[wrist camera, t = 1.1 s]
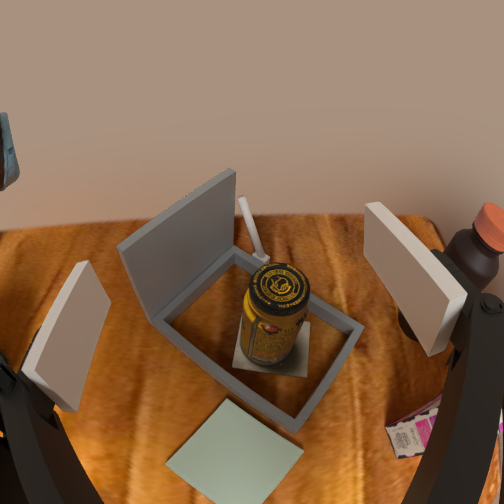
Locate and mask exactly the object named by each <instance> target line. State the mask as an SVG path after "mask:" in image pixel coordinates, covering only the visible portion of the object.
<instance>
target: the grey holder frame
mask: <svg viewBox="0 0 504 504" xmlns="http://www.w3.org/2000/svg"><path fill="white" fill-rule="evenodd" d="M235 184H236V171H234V170H232V169H230V168H228V169H227V170H225V171H223V172H222V173H220V174H219V175H217V176H216V177H214V178H212V179H211V180H209V181H208V182H206V183H205V184H203V185H202V186H200V187H199V188H197V189H195V190H194V191H193V192H191V193H189V194H188V195H186V196H185V197H184V198H182V199H181V200H179V201H178V202H176V203H175V204H173V205H172V206H170V207H169V208H168V209H166V210H165V211H163V212H162V213H161V214H159V215H158V216H156V217H155V218H153V219H152V220H151V221H149V222H148V223H146V224H145V225H144V226H142V227H141V228H140V229H138V230H137V231H135V232H134V233H133V234H131V235H130V236H129V237H127V238H126V239H125V240H123V241H122V242H121V243H119V244H118V245H117V246H116V248H117V250H118V253H119V256H120V258H121V261H122V263H123V266H124V268H125V270H126V273H127V275H128V278H129V280H130V282H131V285H132V287H133V289H134V292H135V294H136V296H137V298H138V301H139V303H140V305H141V307H142V309H143V312H144V314H145V316H146V318H147V320H148V322H149V324H150V325H152V326H153V327H154V328H155V329H156V330H157V331H158V332H159V333H160V334H161V335H163V336H164V337H165V338H166V339H167V340H168V341H169V342H171V343H172V344H173V345H174V346H175V347H176V348H177V349H179V350H180V351H181V352H182V353H183V354H184V355H186V356H187V357H188V358H189V359H190V360H192V361H193V362H194V363H195V364H196V365H198V366H199V367H200V368H201V369H203V370H204V371H205V372H206V373H208V374H209V375H210V376H211V377H213V378H214V379H215V380H217V381H218V382H219V383H220V384H222V385H223V386H224V387H226V388H227V389H228V390H230V391H231V392H232V393H234V394H235V395H236V396H238V397H239V398H240V399H242V400H243V401H245V402H246V403H247V404H249V405H250V406H252V407H253V408H254V409H256V410H257V411H259V412H260V413H262V414H263V415H264V416H266V417H267V418H269V419H270V420H272V421H273V422H275V423H276V424H278V425H279V426H281V427H282V428H284V429H285V430H287V431H289V432H290V433H292V434H295V433H297V432H298V431H299V430H300V428H301V427H302V426H303V424H304V423H305V421H306V420H307V419H308V417H309V416H310V414H311V413H312V411H313V410H314V409H315V407H316V406H317V404H318V403H319V401H320V400H321V398H322V397H323V395H324V394H325V392H326V391H327V389H328V388H329V386H330V384H331V383H332V381H333V380H334V378H335V377H336V375H337V373H338V372H339V370H340V369H341V367H342V365H343V364H344V362H345V360H346V359H347V357H348V355H349V354H350V352H351V350H352V348H353V347H354V345H355V343H356V341H357V340H358V338H359V336H360V334H361V333H362V331H363V329H364V327H365V326H363V325H362V324H360V323H358V322H357V321H355V320H353V319H352V318H350V317H349V316H347V315H345V314H344V313H342V312H341V311H339V310H337V309H336V308H334V307H333V306H331V305H329V304H328V303H326V302H324V301H323V300H321V299H320V298H318V297H316V296H315V295H313V294H312V293H310V298H309V300H308V311H309V312H311V313H312V314H314V315H315V316H317V317H319V318H320V319H322V320H323V321H325V322H327V323H328V324H330V325H331V326H333V327H334V328H336V329H338V330H339V331H341V332H342V333H344V334H346V335H347V336H348V338H347V340H346V341H345V343H344V345H343V346H342V348H341V349H340V351H339V353H338V354H337V356H336V358H335V359H334V361H333V362H332V364H331V365H330V367H329V369H328V370H327V372H326V373H325V375H324V376H323V378H322V379H321V381H320V382H319V384H318V385H317V387H316V388H315V390H314V391H313V392H312V394H311V395H310V397H309V398H308V400H307V401H306V402H305V404H304V405H303V407H302V408H301V409H300V411H299V412H298V414H297V415H296V416H295V418H292V417H291V416H289V415H288V414H286V413H284V412H283V411H281V410H280V409H278V408H277V407H275V406H274V405H272V404H271V403H270V402H268V401H267V400H265V399H264V398H262V397H261V396H259V395H258V394H257V393H255V392H254V391H252V390H251V389H250V388H248V387H247V386H245V385H244V384H243V383H241V382H240V381H239V380H237V379H236V378H235V377H233V376H232V375H231V374H229V373H228V372H227V371H225V370H224V369H223V368H221V367H220V366H219V365H217V364H216V363H215V362H214V361H212V360H211V359H210V358H208V357H207V356H206V355H205V354H203V353H202V352H201V351H200V350H198V349H197V348H196V347H195V346H193V345H192V344H191V343H190V342H189V341H187V340H186V339H185V338H184V337H183V336H181V335H180V334H179V333H178V332H177V331H176V330H174V329H173V328H172V327H171V326H170V324H171V323H172V322H173V321H174V320H175V319H176V318H177V317H179V316H180V315H181V314H182V313H183V312H184V311H185V310H186V309H187V308H188V307H189V306H190V305H191V304H192V303H193V302H194V301H195V300H196V299H198V298H199V297H200V296H201V295H202V294H203V293H204V292H205V291H206V290H207V289H208V288H209V287H210V286H211V285H212V284H213V283H214V282H215V281H217V280H218V279H219V278H220V277H221V276H222V275H223V274H224V273H225V272H226V271H227V270H228V269H229V268H230V267H231V266H232V265H233V264H234V263H235V264H236V265H238V266H239V267H241V268H242V269H244V270H245V271H247V272H249V273H250V274H252V275H254V273H255V272H256V271H257V270H258V269H259V268H260V267H261V266H263V265H265V264H269V260H270V257H269V256H268V255H266V254H265V253H264V250H263V247H262V244H261V241H260V238H259V235H258V232H257V229H256V226H255V223H254V220H253V217H252V214H251V212H250V209H249V206H248V203H247V200H246V197H245V196H244V195H242V196H240V197H238V198H237V199H238V203H239V205H240V208H241V211H242V214H243V217H244V220H245V222H246V225H247V228H248V231H249V234H250V237H251V239H252V242H253V245H254V248H255V251H256V252H254V253H253V254H252V256H251V255H249V254H248V253H246V252H244V251H243V250H241V249H240V248H238V247H236V246H235V245H233V239H234V210H235Z"/></svg>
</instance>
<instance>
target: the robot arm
mask: <svg viewBox="0 0 504 504" xmlns="http://www.w3.org/2000/svg"><path fill="white" fill-rule="evenodd" d="M19 174H20V171H19V166H18V162H17V158H16V154H15V150H14V145H13V141H12V136H11V131H10V126H9V121H8V115H7V113H6V112H3V113H0V191H3V190H5V188H6V187H7V186H9V185H10V184H12V183H13V182H15V181H16V180H17V179H18V177H19ZM363 255H364V256H365V257H366V259H367V260H368V262H369V263H370V265H371V266H372V268H373V269H374V270H375V272H376V273H377V275H378V276H379V278H380V279H381V281H382V282H383V284H384V285H385V287H386V289H387V290H388V292H389V293H390V295H391V296H392V298H393V299H394V301H395V302H396V304H397V306H398V307H399V309H400V310H401V312H402V314H403V315H404V317H405V318H406V320H407V322H408V323H409V325H410V327H411V328H412V330H413V332H414V333H415V335H416V337H417V338H418V340H419V342H420V344H421V345H422V347H423V349H424V350H425V352H426V354H427V356H428V357H430V356H432V355H435V354H437V353H440V352H442V351H444V350H445V349H446V347H447V345H448V342H449V340H450V341H451V342H452V344H453V345H454V349H453V351H452V353H451V355H450V357H449V359H448V361H447V363H446V365H449V369H448V373H447V378H446V382H445V386H444V390H443V394H442V398H441V401H440V405H439V408H438V412H437V415H436V418H435V422H434V425H433V428H432V431H431V434H430V437H429V440H428V442H427V445H426V448H425V451H424V453H423V456H422V458H421V461H420V463H419V466H418V468H417V471H416V473H415V475H414V478H413V480H412V482H411V484H410V486H409V489H408V491H407V493H406V495H405V497H404V499H403V501H402V503H401V504H478V502H479V499H480V496H481V493H482V490H483V487H484V484H485V481H486V477H487V474H488V471H489V467H490V463H491V459H492V455H493V451H494V447H495V443H496V438H497V433H498V428H499V422H500V416H501V409H502V421H503V464H502V480H501V490H500V499H499V504H504V303H503V302H502V300H501V299H499V298H498V297H497V296H495V295H492V294H489V293H481V292H480V291H479V290H478V289H477V288H476V287H475V285H474V284H473V283H472V282H471V281H470V280H469V279H468V278H467V276H466V275H465V274H464V273H463V272H462V271H460V269H459V268H458V267H457V266H456V265H454V262H453V261H452V260H451V259H450V258H449V257H448V256H447V255H446V254H444V253H442V252H440V251H439V250H437V249H433V250H428V249H427V248H426V247H425V245H424V244H423V243H422V242H421V241H420V240H419V239H418V238H417V237H416V236H415V235H414V234H413V233H412V232H411V231H410V230H409V229H408V228H407V227H406V226H405V225H404V224H403V223H402V222H401V221H400V220H399V219H397V218H396V217H395V216H394V215H393V214H392V213H391V212H390V211H389V210H388V209H387V208H386V207H385V206H384V205H383V204H381V203H380V202H373V203H368V204H365V221H364V253H363ZM110 305H111V301H110V299H109V297H108V295H107V294H106V292H105V290H104V288H103V286H102V285H101V283H100V281H99V279H98V277H97V275H96V273H95V271H94V269H93V267H92V265H91V263H90V261H89V260H87V261H83V262H78V263H77V264H76V265H75V267H74V268H73V270H72V272H71V273H70V275H69V277H68V278H67V280H66V282H65V284H64V285H63V287H62V289H61V291H60V292H59V294H58V296H57V298H56V299H55V301H54V303H53V305H52V307H51V309H50V311H49V312H48V314H47V316H46V318H45V320H44V322H43V324H42V325H41V327H40V328H39V329H38V330H37V331H36V333H35V335H34V337H33V339H32V343H30V345H29V348H28V349H29V350H27V352H26V354H25V356H24V359H23V361H22V363H21V365H20V368H19V370H18V372H17V374H16V373H15V372H14V371H13V370H12V369H11V368H10V366H9V365H8V364H7V363H6V362H5V361H3V360H0V431H1V432H2V433H3V438H2V437H0V504H104V502H103V501H102V499H101V498H100V496H99V494H98V493H97V491H96V489H95V488H94V486H93V484H92V483H91V481H90V479H89V477H88V476H87V474H86V472H85V470H84V469H83V467H82V465H81V463H80V461H79V459H78V457H77V455H76V453H75V451H74V449H73V447H72V445H71V443H70V441H69V439H68V437H67V434H66V432H65V430H64V428H63V425H62V423H61V421H60V418H59V416H58V414H57V413H56V412H55V411H54V410H53V409H54V405H55V404H56V405H57V406H58V407H59V408H60V409H62V410H63V411H65V412H78V408H79V404H80V400H81V396H82V392H83V389H84V385H85V382H86V378H87V375H88V371H89V368H90V365H91V361H92V358H93V355H94V352H95V349H96V345H97V342H98V339H99V336H100V334H101V331H102V328H103V325H104V322H105V319H106V316H107V314H108V311H109V308H110ZM449 363H450V364H449Z"/></svg>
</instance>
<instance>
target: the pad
mask: <svg viewBox="0 0 504 504" xmlns="http://www.w3.org/2000/svg"><path fill="white" fill-rule="evenodd" d="M303 452H304V450H302V449H300V448H299V447H297V446H296V445H294V444H292V443H291V442H289V441H288V440H286V439H284V438H283V437H281V436H280V435H278V434H277V433H275V432H274V431H272V430H271V429H269V428H268V427H266V426H265V425H263V424H262V423H260V422H259V421H257V420H256V419H255V418H253V417H252V416H250V415H249V414H248V413H246V412H245V411H243V410H242V409H241V408H239V407H238V406H236V405H235V404H234V403H232V402H231V401H230V400H228V399H226V400H225V401H224V402H223V403H222V404H221V405H220V406H219V408H218V409H217V410H216V411H215V412H214V413H213V414H212V415H211V416H210V417H209V419H208V420H207V421H206V422H205V423H204V424H203V425H202V426H201V427H200V428H199V429H198V430H197V431H196V433H195V434H194V435H193V436H192V437H191V438H190V439H189V440H188V441H187V442H186V443H185V444H184V445H183V446H182V447H181V448H180V449H179V450H178V451H177V452H176V453H175V454H174V455H173V456H172V457H171V458H170V459H169V460H168V461H167V462H166V463H165V465H167V466H168V467H169V468H170V469H171V470H172V471H174V472H175V473H176V474H177V475H179V476H180V477H181V478H182V479H184V480H185V481H186V482H187V483H189V484H190V485H191V486H193V487H194V488H195V489H197V490H198V491H199V492H201V493H202V494H203V495H205V496H206V497H208V498H209V499H210V500H212V501H213V502H215V503H216V504H262V503H263V501H264V500H265V499H266V498H267V497H268V496H269V495H270V493H271V492H272V491H273V490H274V489H275V488H276V486H277V485H278V484H279V483H280V482H281V480H282V479H283V478H284V477H285V475H286V474H287V473H288V472H289V470H290V469H291V468H292V467H293V465H294V464H295V463H296V461H297V460H298V459H299V458H300V456H301V455H302V454H303Z"/></svg>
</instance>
